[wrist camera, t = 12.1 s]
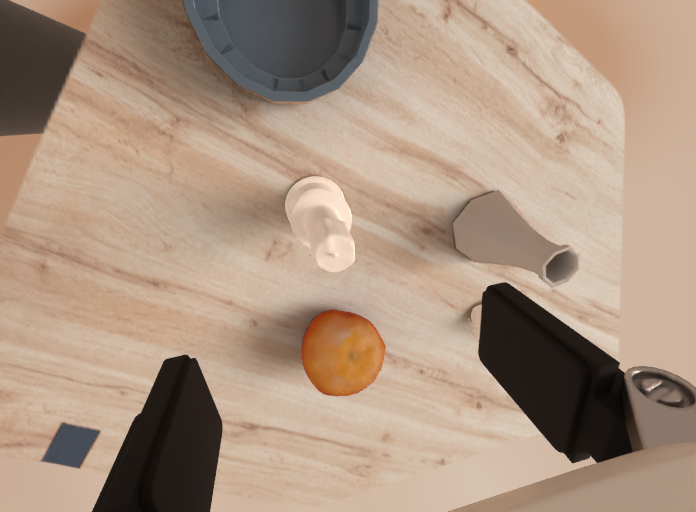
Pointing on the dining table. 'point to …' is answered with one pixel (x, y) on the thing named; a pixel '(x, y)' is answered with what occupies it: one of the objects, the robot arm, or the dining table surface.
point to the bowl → (285, 43)
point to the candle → (321, 222)
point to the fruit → (342, 353)
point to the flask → (511, 240)
